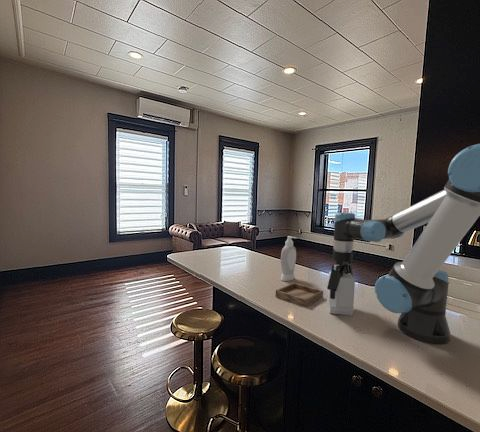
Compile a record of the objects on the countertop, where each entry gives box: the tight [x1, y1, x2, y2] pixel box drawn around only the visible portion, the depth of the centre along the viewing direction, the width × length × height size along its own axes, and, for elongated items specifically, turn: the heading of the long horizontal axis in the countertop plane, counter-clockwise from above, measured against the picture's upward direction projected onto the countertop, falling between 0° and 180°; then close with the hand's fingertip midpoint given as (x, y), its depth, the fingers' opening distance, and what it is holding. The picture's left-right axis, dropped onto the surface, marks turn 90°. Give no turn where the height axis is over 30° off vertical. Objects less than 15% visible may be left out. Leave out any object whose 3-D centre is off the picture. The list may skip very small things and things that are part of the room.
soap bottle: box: [280, 235, 298, 282], centre depth 145 cm, size 13×8×24 cm, turn 130°
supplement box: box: [326, 270, 356, 317], centre depth 108 cm, size 9×9×15 cm
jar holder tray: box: [275, 282, 324, 308], centre depth 122 cm, size 16×16×3 cm
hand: (339, 301), depth 108 cm, fingers open, 13 cm apart
